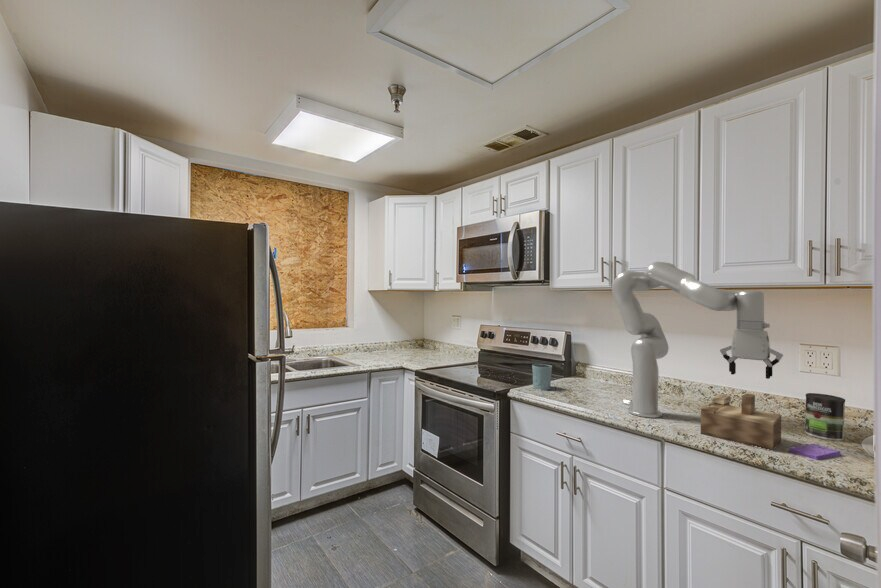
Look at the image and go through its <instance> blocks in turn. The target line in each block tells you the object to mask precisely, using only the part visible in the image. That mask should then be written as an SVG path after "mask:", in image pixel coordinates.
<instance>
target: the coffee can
mask: <svg viewBox="0 0 881 588" xmlns="http://www.w3.org/2000/svg"><path fill="white" fill-rule="evenodd" d="M845 403H846V398H843V397H840V396H837V395H832V394H825V393H815V392H814V393H813V392H809V393H808V392H807V393H805V420H804V421H805V422H804V423H805V424H804V427H805V428H804V430H805V431H804V433H805V434H806V435H807V436H811V437H813V438H818V439H822V440H827V441H834V442H835V441H836V442H842V441H845V414H846V413H845V409H846V404H845Z"/></svg>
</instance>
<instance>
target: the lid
mask: <svg viewBox="0 0 881 588" xmlns="http://www.w3.org/2000/svg"><path fill="white" fill-rule="evenodd" d="M755 402H756V395H755V394H751V393H744V394H743V395H741V406H736V405H731V404H730V405H725V406H723V407H718V406H713V405H711V406H709V405H708V407H713V408H719V409H718V410H717V411H715V414H717V415H722V416H727V417H732V418H737V419H742V420H747V421H752V422H757V423H762V424H767V425H772V426H773V425H774V424H775V423H776V422H777V421H779V420H780V419H781V420H782V414H780V413H779V414H778V413H774V412H769V411H764V410H763V411H762V410H758V409H755V408H756V405H755V404H756V403H755Z"/></svg>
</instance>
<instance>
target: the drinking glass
mask: <svg viewBox="0 0 881 588" xmlns="http://www.w3.org/2000/svg"><path fill="white" fill-rule="evenodd" d="M531 368H532V369H531V370H532V387H534V388H536V389H541V390H540V391H549V389H550V390H551V381H552V371H553V365H550V364H544V363H534V364H532V365H531ZM534 388H533V389H534ZM536 389H535V390H536Z"/></svg>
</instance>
